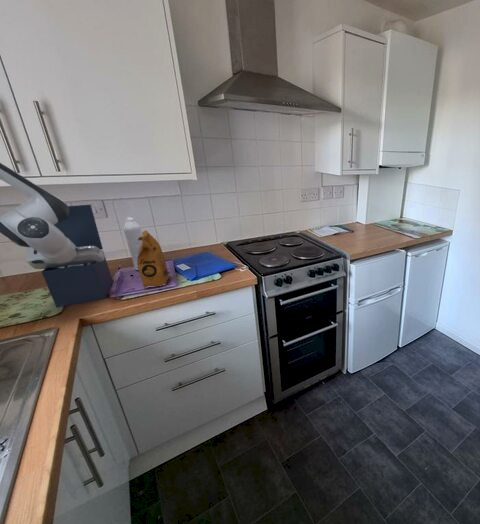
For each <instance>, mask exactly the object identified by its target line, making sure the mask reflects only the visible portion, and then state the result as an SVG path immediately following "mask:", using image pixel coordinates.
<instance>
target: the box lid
mask: <svg viewBox="0 0 480 524" xmlns="http://www.w3.org/2000/svg"><path fill="white" fill-rule="evenodd" d="M68 206H69V215H68V218H66V219H64V220H62V221H61V222H59V223H56V224H55V225H54V226H55V227H57V228H58V229H59V230H60V231H61V232H62V233H63V234H64V235H65V237H67V238H68V239H69V240H70V241H71V242H72V243H73V244H75V245H76V247H84V246H95V247H98V248H99V249H100V250H104V249H103V244H102V241H101V237H100V234H99V230H98V226H97V223H96V222H97V221H96V219H95V215H94V212H93V211H94V210H93V207H92V204H79V205H77V204H76V205H68Z"/></svg>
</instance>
